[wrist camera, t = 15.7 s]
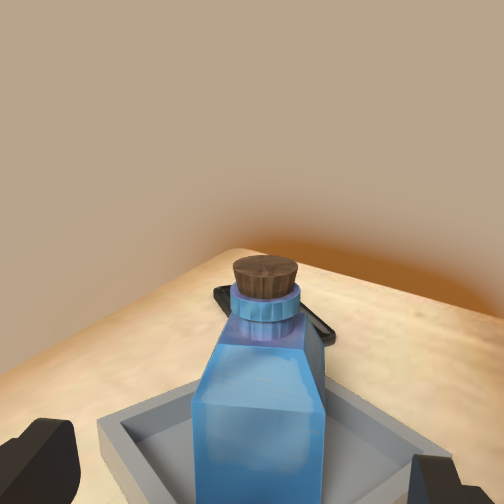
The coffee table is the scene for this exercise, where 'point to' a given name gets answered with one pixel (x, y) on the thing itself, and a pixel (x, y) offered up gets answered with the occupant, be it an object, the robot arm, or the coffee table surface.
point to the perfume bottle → (261, 395)
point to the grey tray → (334, 453)
